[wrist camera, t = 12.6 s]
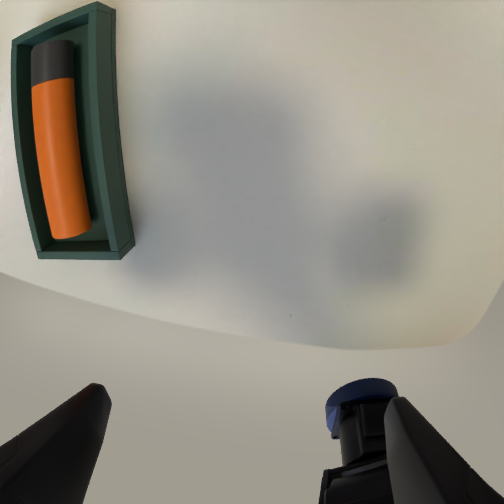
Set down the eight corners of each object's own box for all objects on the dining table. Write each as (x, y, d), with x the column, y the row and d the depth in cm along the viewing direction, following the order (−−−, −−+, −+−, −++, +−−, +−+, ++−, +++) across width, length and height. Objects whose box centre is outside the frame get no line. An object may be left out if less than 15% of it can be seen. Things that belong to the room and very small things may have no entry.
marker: (98, 222, 19) (79, 237, 17) (65, 224, 19) (44, 240, 17) (81, 43, 14) (59, 36, 12) (47, 55, 14) (22, 51, 12)
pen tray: (135, 245, 20) (120, 260, 18) (55, 246, 21) (38, 259, 19) (115, 9, 14) (97, 0, 12) (32, 42, 14) (11, 40, 12)
